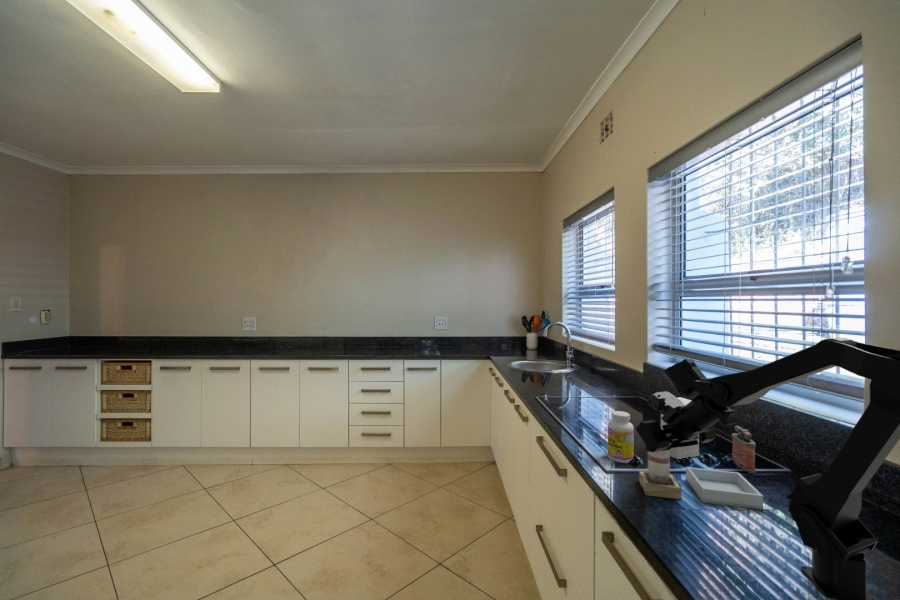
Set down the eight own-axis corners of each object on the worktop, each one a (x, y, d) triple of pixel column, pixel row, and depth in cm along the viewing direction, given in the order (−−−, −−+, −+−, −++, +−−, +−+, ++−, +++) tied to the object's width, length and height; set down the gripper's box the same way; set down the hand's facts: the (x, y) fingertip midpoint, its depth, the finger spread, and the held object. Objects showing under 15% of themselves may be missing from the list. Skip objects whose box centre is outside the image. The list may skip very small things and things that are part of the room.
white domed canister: (672, 484, 86) (672, 440, 86) (650, 481, 88) (650, 438, 88) (666, 475, 91) (666, 433, 91) (646, 473, 92) (646, 432, 92)
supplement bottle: (602, 456, 108) (602, 411, 108) (619, 452, 111) (619, 408, 111) (622, 465, 102) (622, 418, 102) (639, 461, 105) (639, 415, 105)
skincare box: (680, 448, 114) (680, 396, 114) (701, 456, 108) (701, 402, 108) (659, 452, 111) (659, 399, 111) (679, 461, 105) (679, 405, 105)
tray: (763, 510, 81) (763, 496, 80) (703, 502, 84) (703, 488, 84) (738, 485, 91) (738, 472, 91) (686, 479, 94) (686, 467, 94)
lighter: (759, 473, 97) (759, 434, 97) (744, 472, 98) (744, 433, 98) (742, 460, 105) (742, 424, 105) (728, 459, 106) (728, 423, 106)
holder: (681, 499, 85) (681, 488, 85) (645, 494, 87) (645, 484, 87) (671, 484, 92) (671, 474, 92) (639, 480, 94) (639, 470, 94)
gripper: (703, 380, 89) (662, 413, 99) (642, 386, 82) (605, 421, 93) (738, 423, 81) (690, 455, 92) (675, 434, 75) (631, 467, 85)
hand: (654, 448), depth 90 cm, fingers closed on white domed canister, 4 cm apart
